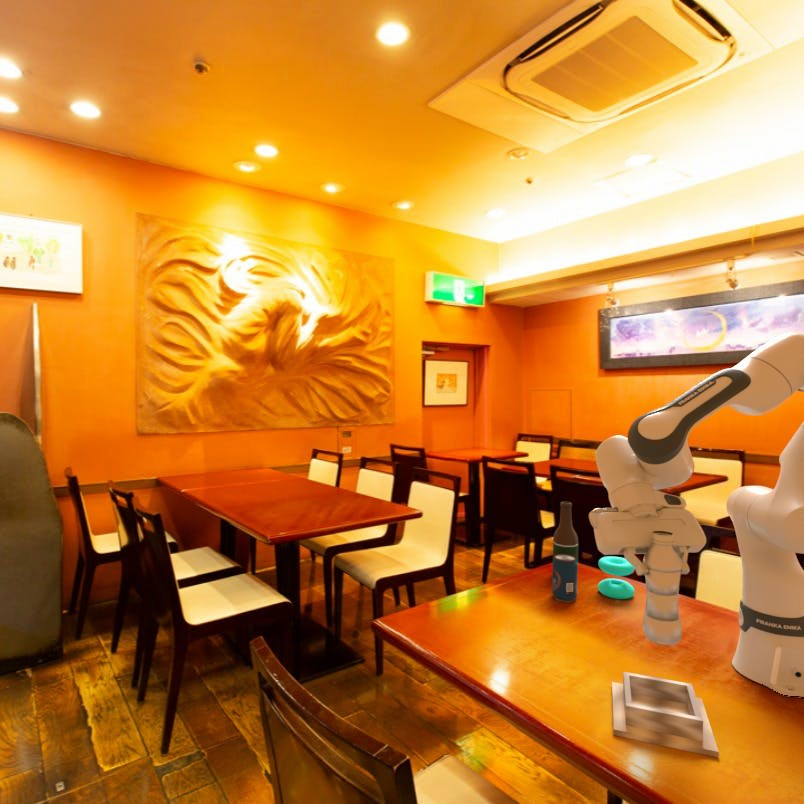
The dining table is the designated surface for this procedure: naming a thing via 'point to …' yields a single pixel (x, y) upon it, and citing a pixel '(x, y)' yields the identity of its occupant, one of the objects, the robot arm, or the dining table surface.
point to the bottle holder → (661, 714)
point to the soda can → (564, 578)
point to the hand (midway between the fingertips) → (664, 573)
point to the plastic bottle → (662, 590)
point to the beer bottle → (565, 534)
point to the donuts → (616, 586)
